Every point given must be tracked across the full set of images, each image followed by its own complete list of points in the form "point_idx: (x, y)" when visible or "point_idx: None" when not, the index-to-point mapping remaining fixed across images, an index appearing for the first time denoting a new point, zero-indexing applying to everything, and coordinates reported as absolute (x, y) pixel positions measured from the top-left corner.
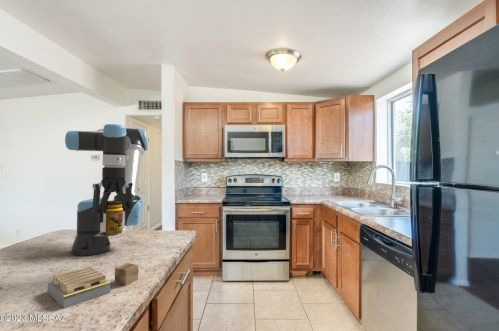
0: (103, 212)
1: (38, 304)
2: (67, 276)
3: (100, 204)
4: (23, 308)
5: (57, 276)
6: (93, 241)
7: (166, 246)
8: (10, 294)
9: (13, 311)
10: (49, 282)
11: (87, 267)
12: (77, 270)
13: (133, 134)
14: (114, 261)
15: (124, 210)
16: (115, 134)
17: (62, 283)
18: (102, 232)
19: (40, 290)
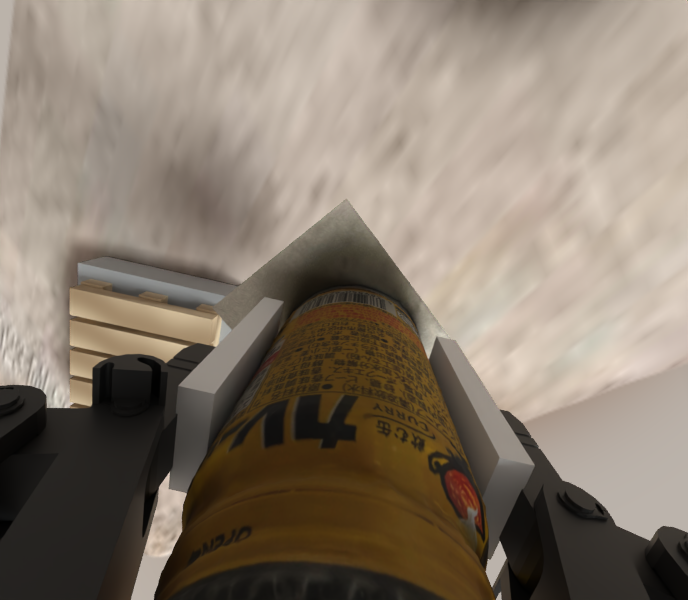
0: (152, 500)
1: (63, 318)
2: (103, 346)
3: (14, 560)
4: (27, 305)
5: (78, 311)
6: None
7: None
8: (16, 150)
9: (4, 299)
10: (82, 269)
11: (199, 324)
12: (156, 319)
13: None
14: (447, 180)
15: (511, 546)
16: None
17: (70, 387)
18: (323, 249)
19: (97, 214)
